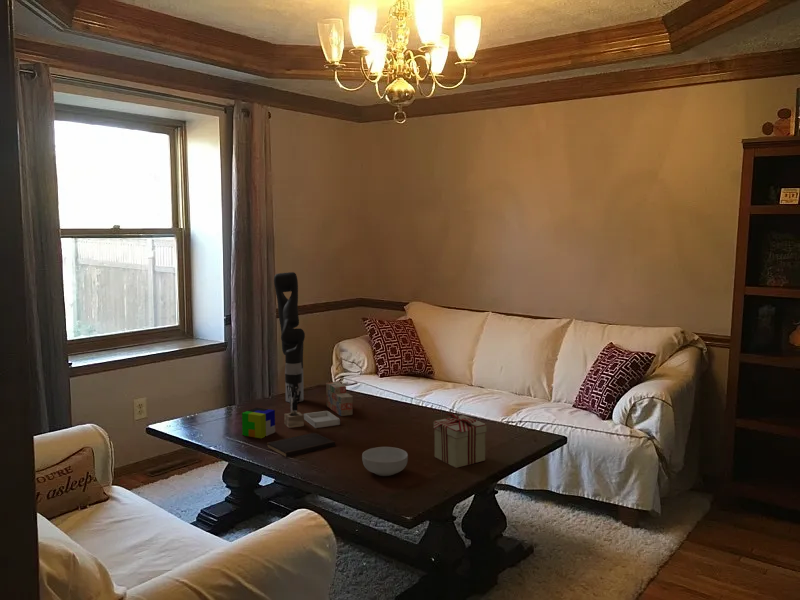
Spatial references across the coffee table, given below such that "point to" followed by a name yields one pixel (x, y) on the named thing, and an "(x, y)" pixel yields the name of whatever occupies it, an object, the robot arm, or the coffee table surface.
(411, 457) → the coffee table surface
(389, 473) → the cereal bowl
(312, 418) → the tray
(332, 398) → the stack of blocks
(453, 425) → the gift box
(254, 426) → the puzzle toy
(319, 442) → the hardcover book
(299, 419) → the maple bore block
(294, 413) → the cylinder
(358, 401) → the coffee table surface
